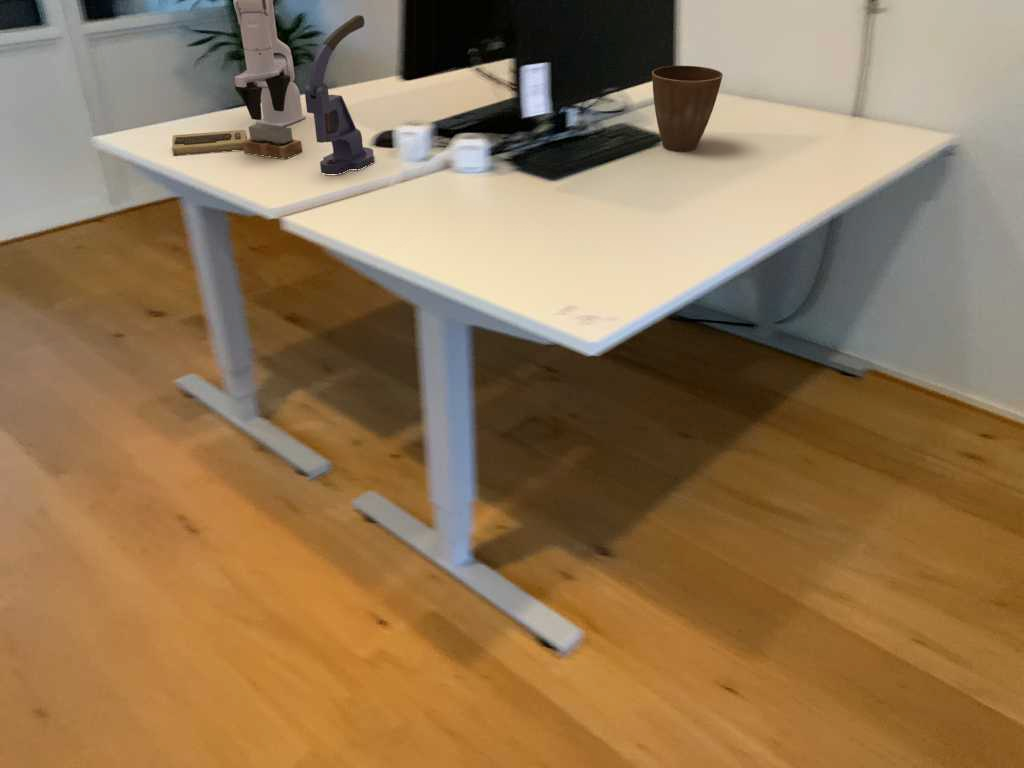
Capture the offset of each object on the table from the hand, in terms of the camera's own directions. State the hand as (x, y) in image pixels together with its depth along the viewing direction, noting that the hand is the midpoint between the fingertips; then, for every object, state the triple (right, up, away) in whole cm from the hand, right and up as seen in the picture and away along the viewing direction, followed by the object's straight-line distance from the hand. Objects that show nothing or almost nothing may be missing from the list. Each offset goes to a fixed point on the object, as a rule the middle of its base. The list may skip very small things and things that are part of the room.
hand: (267, 114), depth 182 cm
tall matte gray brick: (0, -7, +4) cm, 8 cm away
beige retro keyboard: (-15, -6, +8) cm, 17 cm away
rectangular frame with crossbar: (0, -7, +4) cm, 8 cm away
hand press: (+18, -11, -2) cm, 21 cm away
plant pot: (+90, -5, +9) cm, 90 cm away
